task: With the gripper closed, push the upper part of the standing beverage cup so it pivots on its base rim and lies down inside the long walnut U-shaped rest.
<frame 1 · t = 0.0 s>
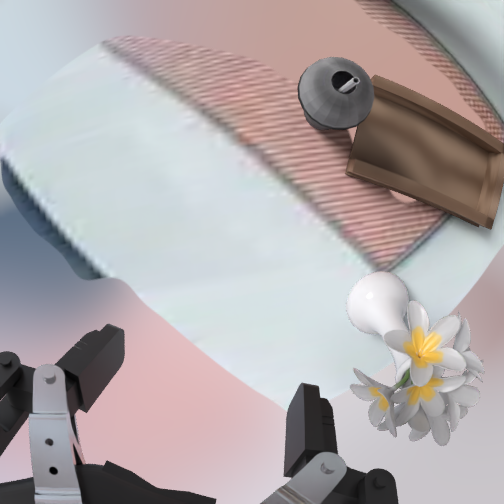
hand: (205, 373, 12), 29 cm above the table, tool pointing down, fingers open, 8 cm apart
flower vase: (376, 294, 40), on the table
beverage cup: (321, 113, 34), on the table
u rest: (432, 155, 33), on the table
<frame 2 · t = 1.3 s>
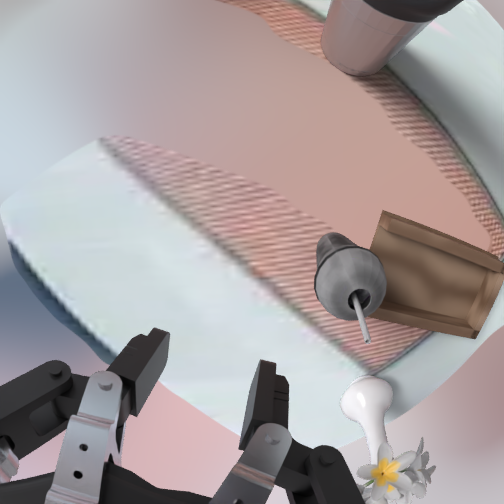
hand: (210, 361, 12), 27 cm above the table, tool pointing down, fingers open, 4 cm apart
flower vase: (366, 387, 44), on the table
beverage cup: (332, 248, 38), on the table
u rest: (433, 278, 37), on the table
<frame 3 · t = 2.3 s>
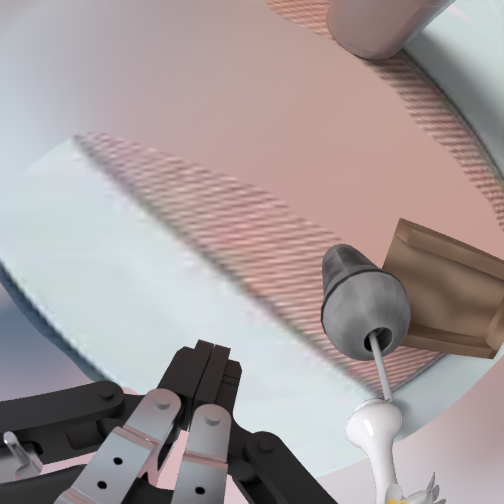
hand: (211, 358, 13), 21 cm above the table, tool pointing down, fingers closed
flower vase: (373, 410, 39), on the table
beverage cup: (341, 262, 32), on the table
u rest: (452, 294, 31), on the table
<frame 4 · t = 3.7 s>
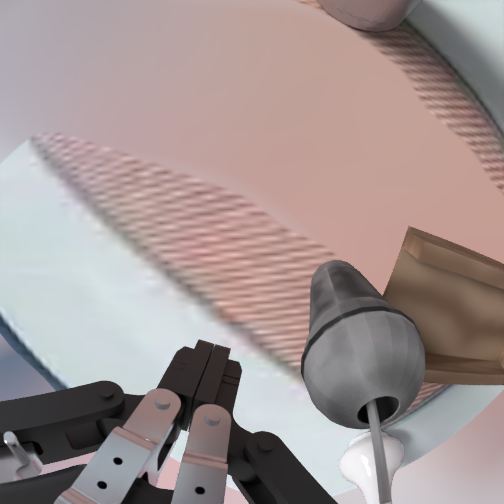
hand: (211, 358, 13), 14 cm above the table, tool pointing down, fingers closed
flower vase: (372, 441, 32), on the table
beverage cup: (335, 282, 26), on the table
u rest: (467, 316, 25), on the table
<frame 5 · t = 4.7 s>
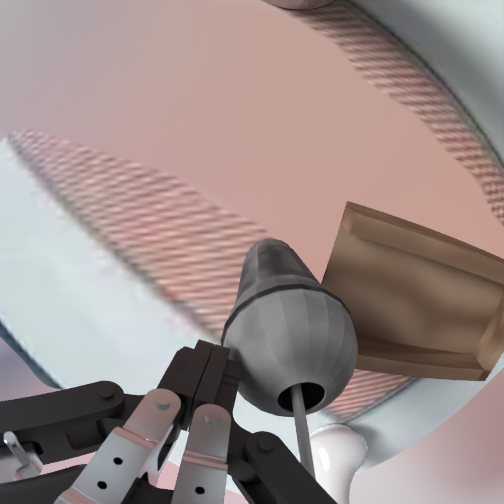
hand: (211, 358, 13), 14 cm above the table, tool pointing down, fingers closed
flower vase: (335, 435, 33), on the table
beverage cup: (270, 262, 26), on the table, touching gripper
u rest: (429, 302, 25), on the table
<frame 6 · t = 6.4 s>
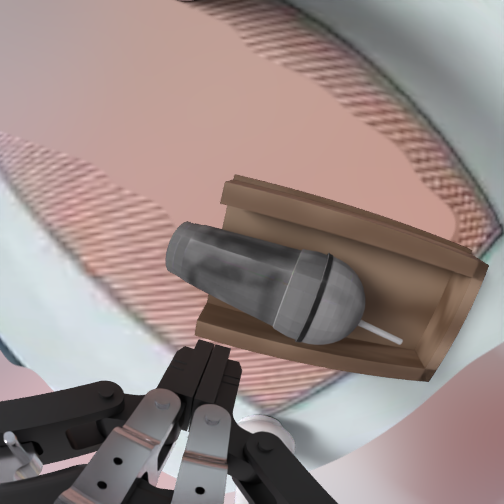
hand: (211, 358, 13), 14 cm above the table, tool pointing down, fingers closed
flower vase: (265, 428, 33), on the table
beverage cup: (178, 246, 24), point 2 cm above the table, touching u rest
u rest: (346, 285, 26), on the table
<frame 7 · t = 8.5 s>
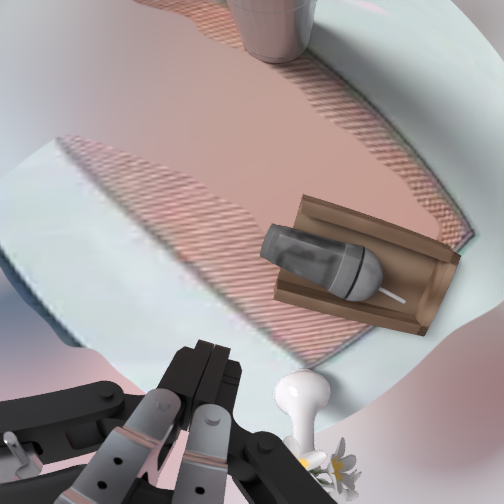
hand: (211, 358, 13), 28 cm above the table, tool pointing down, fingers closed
flower vase: (305, 381, 46), on the table
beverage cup: (265, 239, 37), point 2 cm above the table, touching u rest
u rest: (368, 267, 39), on the table
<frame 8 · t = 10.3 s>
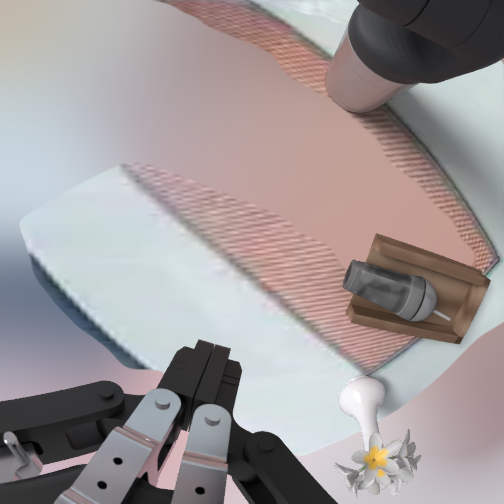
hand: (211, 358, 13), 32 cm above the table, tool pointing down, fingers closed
flower vase: (362, 385, 50), on the table
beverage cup: (346, 273, 42), point 2 cm above the table, touching u rest
u rest: (420, 291, 43), on the table
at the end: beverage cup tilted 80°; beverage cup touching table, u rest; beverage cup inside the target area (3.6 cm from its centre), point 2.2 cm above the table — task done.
